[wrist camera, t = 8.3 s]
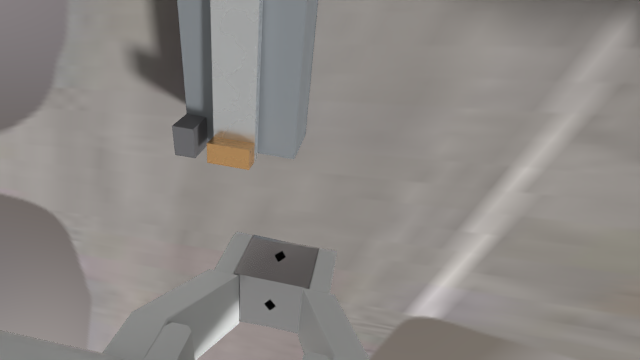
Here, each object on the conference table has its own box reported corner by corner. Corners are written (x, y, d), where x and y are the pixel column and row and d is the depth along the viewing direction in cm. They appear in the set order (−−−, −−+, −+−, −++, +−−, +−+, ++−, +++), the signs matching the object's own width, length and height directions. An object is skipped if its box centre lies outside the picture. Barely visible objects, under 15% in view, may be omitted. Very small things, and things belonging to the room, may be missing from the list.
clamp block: (325, -77, 33) (305, -84, 25) (305, 134, 43) (287, 174, 36) (202, -92, 34) (147, -103, 26) (212, 119, 44) (175, 154, 37)
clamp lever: (264, -40, 29) (254, -41, 27) (257, 157, 38) (248, 169, 36) (214, -47, 30) (200, -48, 28) (218, 151, 38) (207, 162, 36)
